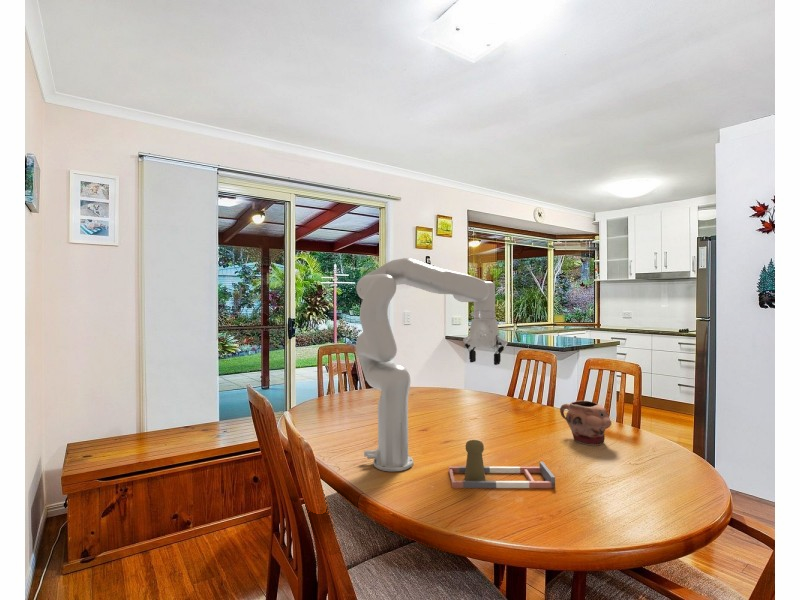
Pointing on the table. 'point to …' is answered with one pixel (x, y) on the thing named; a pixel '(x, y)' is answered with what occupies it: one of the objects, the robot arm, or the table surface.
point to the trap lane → (506, 484)
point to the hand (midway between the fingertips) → (484, 363)
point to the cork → (474, 461)
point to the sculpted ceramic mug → (586, 421)
